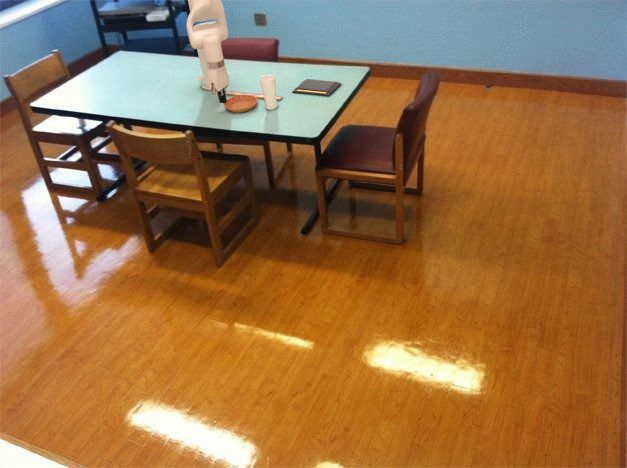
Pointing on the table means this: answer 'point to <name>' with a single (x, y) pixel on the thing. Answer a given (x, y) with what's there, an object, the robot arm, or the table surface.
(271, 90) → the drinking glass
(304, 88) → the wallet
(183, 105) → the table surface
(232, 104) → the saucer
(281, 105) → the table surface
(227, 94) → the ruler
